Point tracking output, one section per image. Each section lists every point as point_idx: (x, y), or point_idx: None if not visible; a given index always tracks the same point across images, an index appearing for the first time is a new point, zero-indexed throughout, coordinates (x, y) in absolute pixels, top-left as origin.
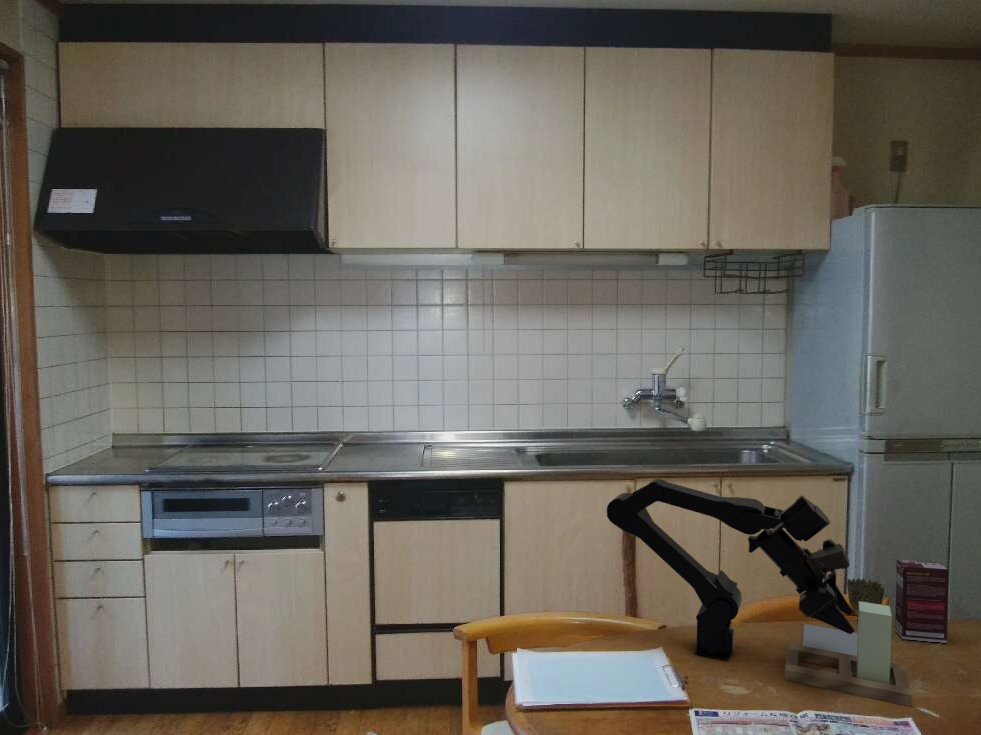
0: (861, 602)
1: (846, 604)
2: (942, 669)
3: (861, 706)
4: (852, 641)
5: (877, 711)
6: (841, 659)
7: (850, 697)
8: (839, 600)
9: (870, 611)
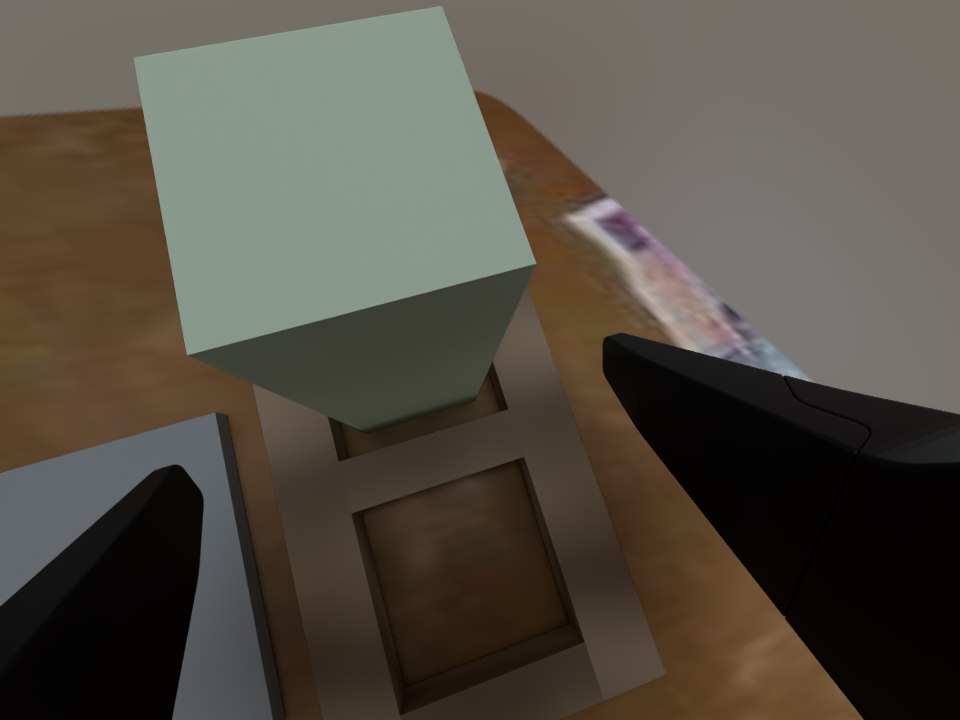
0: (218, 315)
1: (139, 533)
2: (93, 192)
3: None
4: (31, 541)
5: (608, 301)
6: (359, 498)
7: (580, 395)
8: (111, 631)
9: (466, 173)
